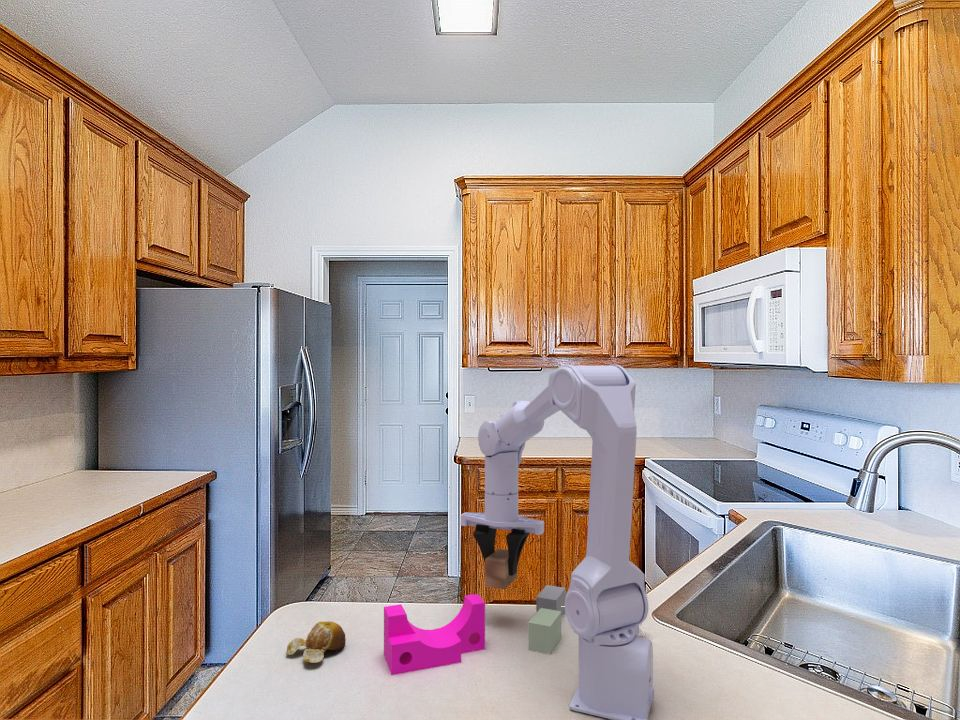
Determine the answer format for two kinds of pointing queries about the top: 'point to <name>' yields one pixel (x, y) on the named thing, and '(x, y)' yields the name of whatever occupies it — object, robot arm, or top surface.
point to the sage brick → (544, 630)
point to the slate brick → (551, 599)
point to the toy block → (432, 638)
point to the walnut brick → (498, 570)
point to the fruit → (319, 641)
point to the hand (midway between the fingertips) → (501, 572)
